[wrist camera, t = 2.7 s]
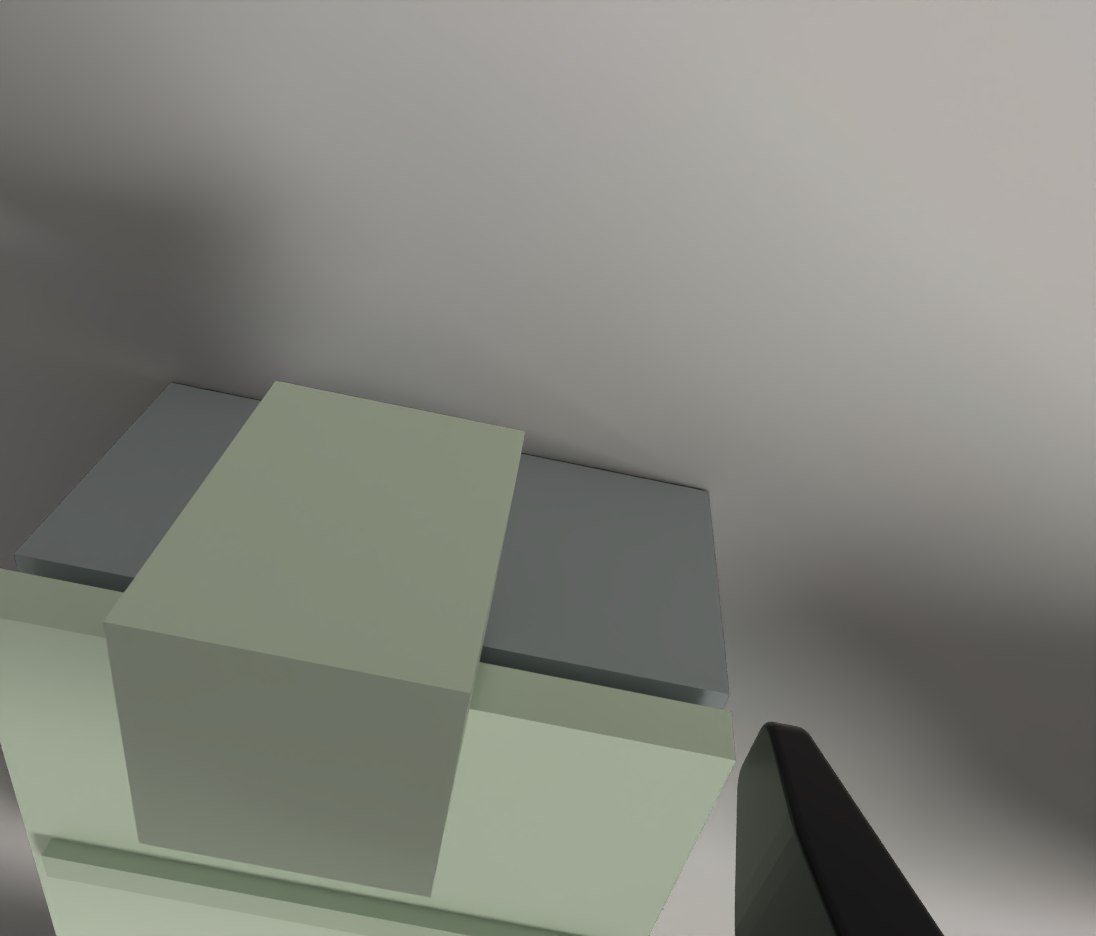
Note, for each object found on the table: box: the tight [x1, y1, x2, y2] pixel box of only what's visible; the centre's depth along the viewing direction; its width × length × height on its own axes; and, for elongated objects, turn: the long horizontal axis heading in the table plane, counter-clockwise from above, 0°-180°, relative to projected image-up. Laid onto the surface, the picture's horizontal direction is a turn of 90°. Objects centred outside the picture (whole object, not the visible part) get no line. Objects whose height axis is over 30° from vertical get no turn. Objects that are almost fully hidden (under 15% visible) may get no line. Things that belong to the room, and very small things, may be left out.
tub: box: [14, 383, 729, 709], centre depth 19 cm, size 16×10×5 cm, turn 170°
